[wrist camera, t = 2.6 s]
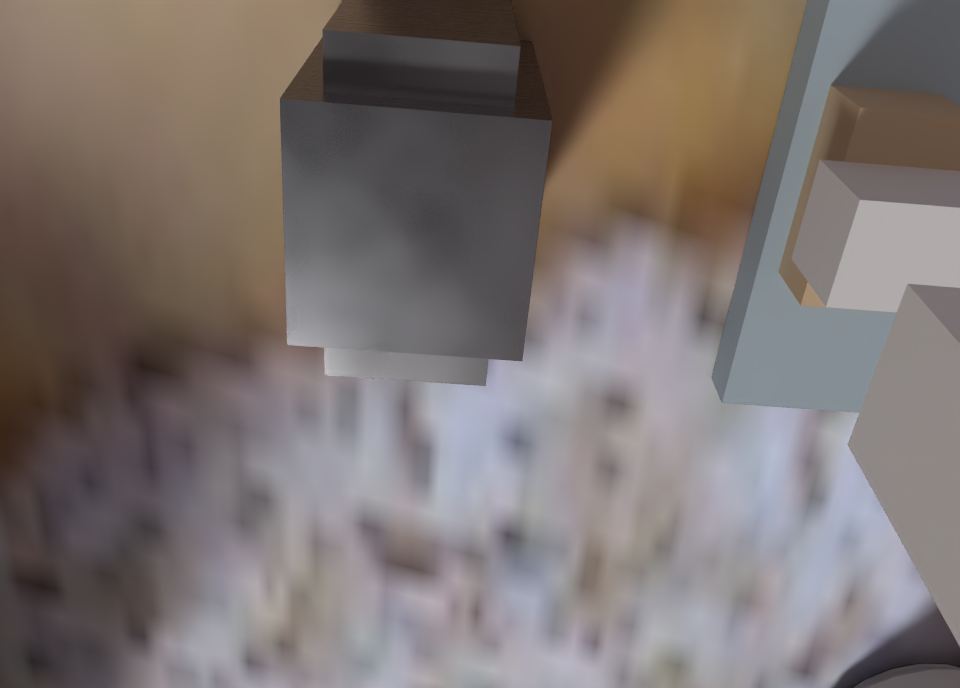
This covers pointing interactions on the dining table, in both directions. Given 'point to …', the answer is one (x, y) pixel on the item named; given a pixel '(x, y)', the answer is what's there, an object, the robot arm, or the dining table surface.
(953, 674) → the can
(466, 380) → the stepped grey block
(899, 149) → the rig
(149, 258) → the dining table surface
